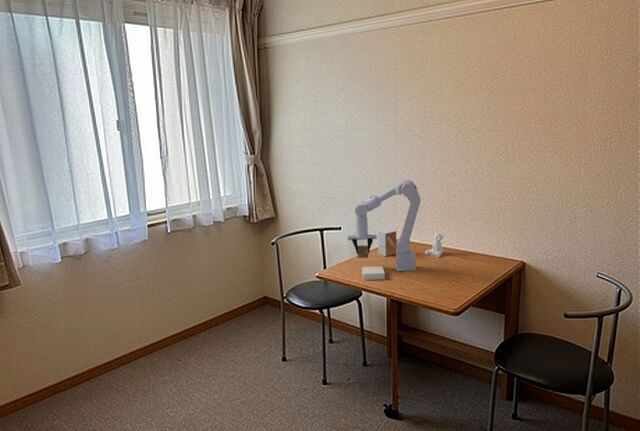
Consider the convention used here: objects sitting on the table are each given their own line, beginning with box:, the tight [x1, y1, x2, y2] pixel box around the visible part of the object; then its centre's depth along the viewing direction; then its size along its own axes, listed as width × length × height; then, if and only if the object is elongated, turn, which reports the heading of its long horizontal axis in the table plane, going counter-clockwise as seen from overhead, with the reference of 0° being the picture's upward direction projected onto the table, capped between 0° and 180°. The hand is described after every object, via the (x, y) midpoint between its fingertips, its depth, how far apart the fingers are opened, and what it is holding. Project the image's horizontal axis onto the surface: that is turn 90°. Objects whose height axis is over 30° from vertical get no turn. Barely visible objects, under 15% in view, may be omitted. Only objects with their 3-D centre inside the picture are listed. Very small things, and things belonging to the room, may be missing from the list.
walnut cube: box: [357, 244, 369, 259], centre depth 237 cm, size 5×5×5 cm
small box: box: [377, 228, 397, 257], centre depth 257 cm, size 8×6×13 cm
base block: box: [361, 265, 386, 281], centre depth 226 cm, size 10×10×3 cm
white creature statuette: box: [424, 232, 445, 258], centre depth 253 cm, size 10×9×12 cm
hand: (362, 253), depth 237 cm, fingers closed on walnut cube, 5 cm apart
